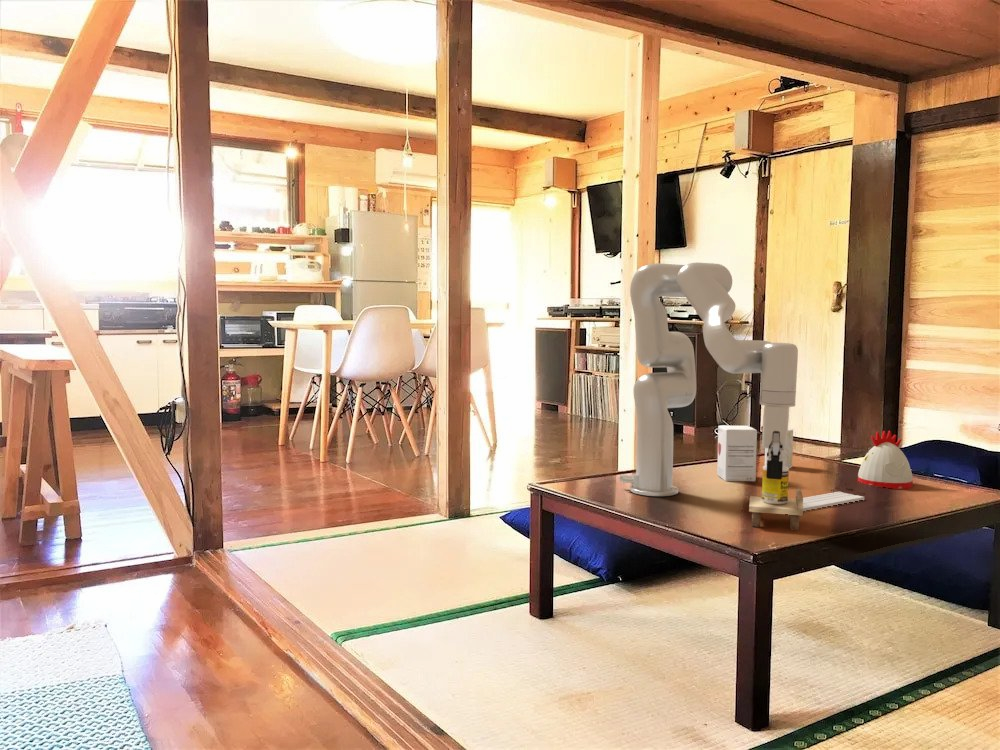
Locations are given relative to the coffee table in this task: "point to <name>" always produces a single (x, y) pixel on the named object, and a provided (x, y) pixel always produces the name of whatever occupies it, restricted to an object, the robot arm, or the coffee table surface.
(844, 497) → the baseboard
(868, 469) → the kitchen timer
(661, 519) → the coffee table surface
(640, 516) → the coffee table surface
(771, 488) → the supplement bottle
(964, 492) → the coffee table surface
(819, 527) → the coffee table surface
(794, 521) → the shelf
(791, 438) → the cup
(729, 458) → the supplement box
